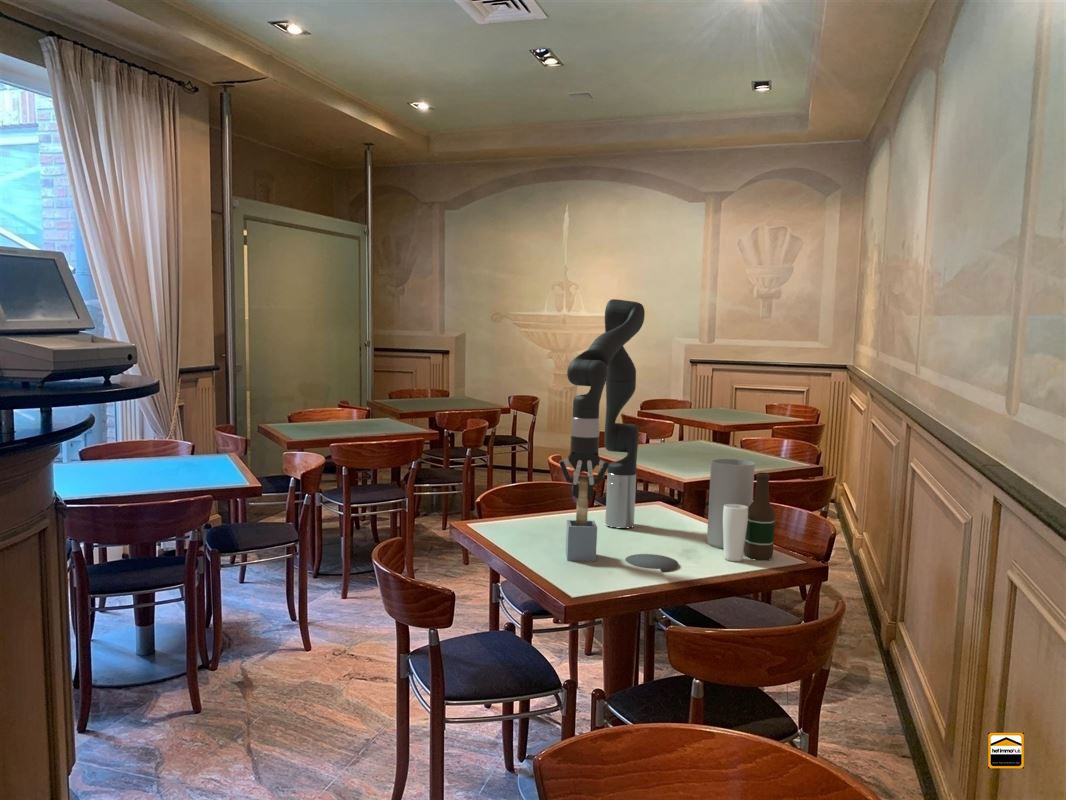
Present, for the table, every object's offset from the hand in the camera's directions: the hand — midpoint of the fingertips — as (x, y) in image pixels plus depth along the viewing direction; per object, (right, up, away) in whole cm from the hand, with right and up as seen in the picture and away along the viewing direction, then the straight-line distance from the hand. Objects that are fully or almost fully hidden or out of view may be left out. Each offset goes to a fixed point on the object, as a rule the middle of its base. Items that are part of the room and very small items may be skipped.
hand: (582, 497), depth 210 cm
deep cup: (-1, -17, +1) cm, 17 cm away
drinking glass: (+42, -18, +7) cm, 47 cm away
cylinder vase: (+45, -17, +23) cm, 53 cm away
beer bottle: (+50, -18, +10) cm, 54 cm away
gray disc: (+18, -18, 0) cm, 26 cm away
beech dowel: (0, -10, +1) cm, 10 cm away
